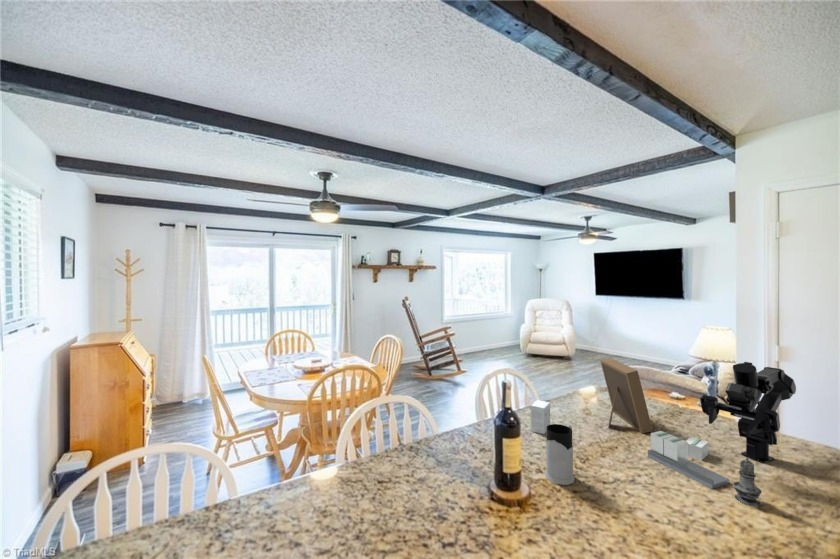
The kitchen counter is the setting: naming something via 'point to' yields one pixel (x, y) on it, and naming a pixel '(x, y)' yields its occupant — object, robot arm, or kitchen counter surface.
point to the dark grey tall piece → (747, 484)
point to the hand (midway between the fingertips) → (727, 427)
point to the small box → (540, 416)
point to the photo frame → (626, 394)
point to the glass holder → (559, 454)
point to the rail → (699, 470)
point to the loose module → (697, 448)
